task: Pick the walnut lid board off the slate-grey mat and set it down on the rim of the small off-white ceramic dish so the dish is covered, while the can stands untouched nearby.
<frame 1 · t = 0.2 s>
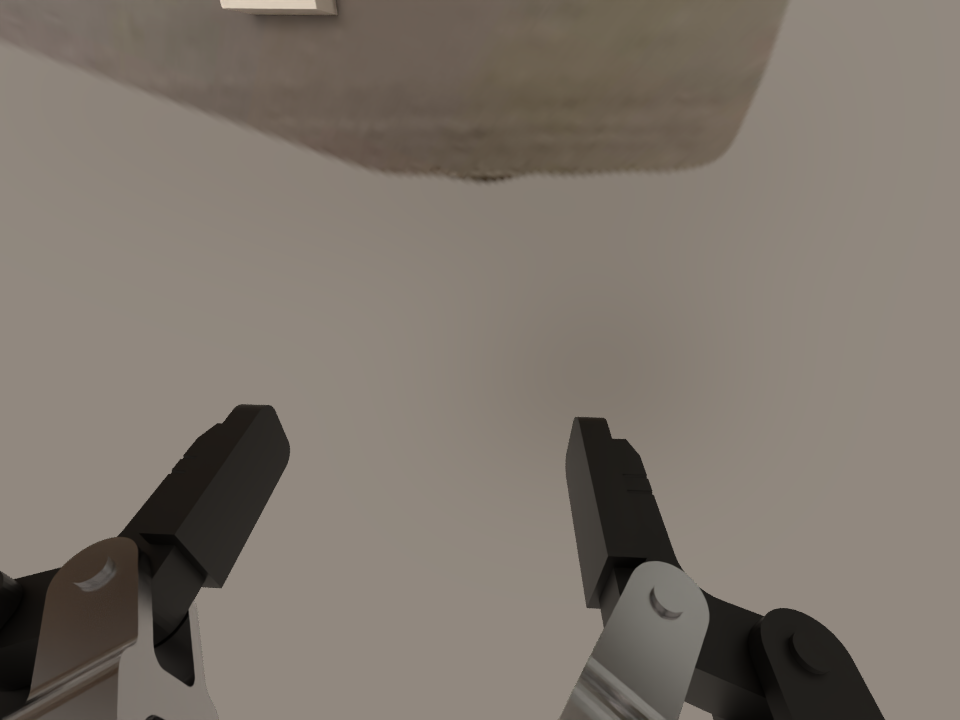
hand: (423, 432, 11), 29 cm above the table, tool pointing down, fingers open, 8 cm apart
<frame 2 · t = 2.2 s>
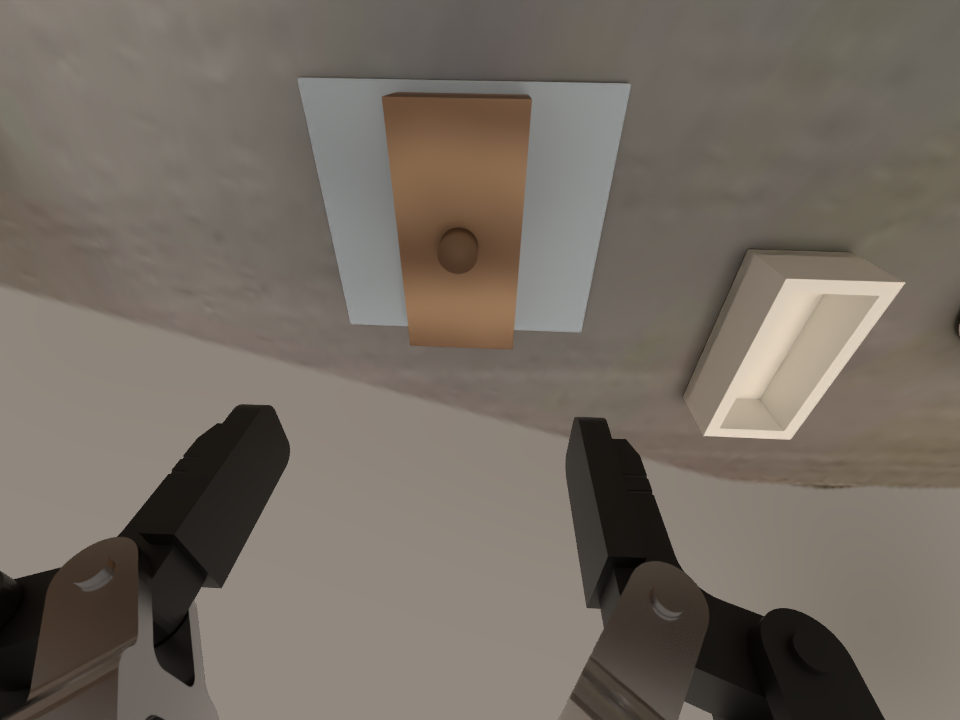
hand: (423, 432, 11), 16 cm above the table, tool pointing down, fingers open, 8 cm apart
lid: (463, 227, 23), resting on mat
mat: (464, 224, 23), on the table
dish: (755, 334, 27), on the table
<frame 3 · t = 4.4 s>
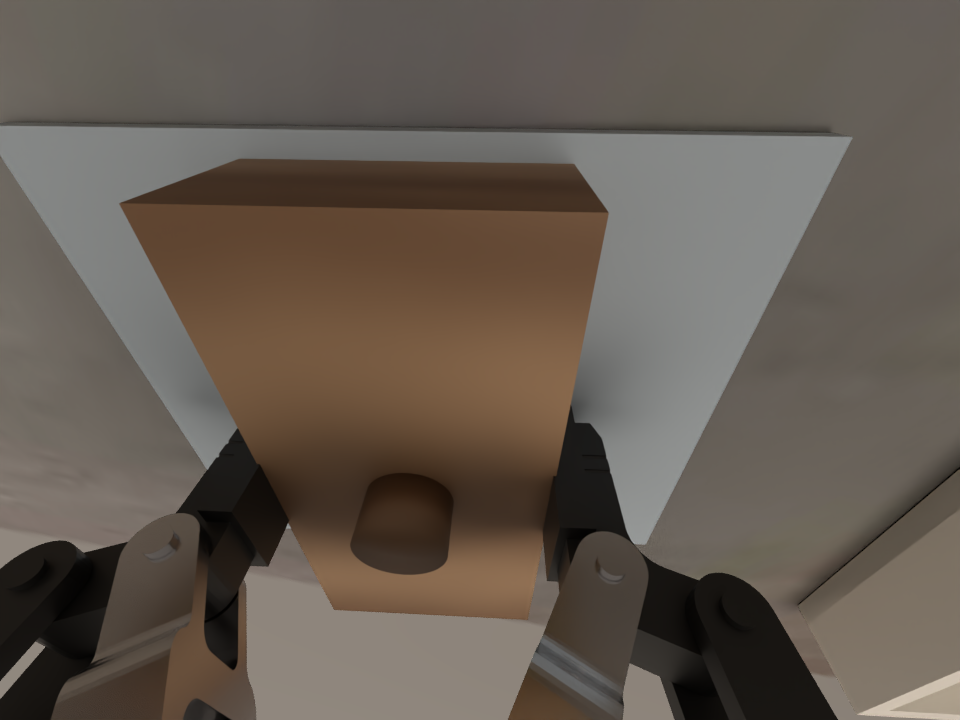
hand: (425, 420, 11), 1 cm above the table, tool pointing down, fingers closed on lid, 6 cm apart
lid: (429, 408, 11), resting on mat, touching gripper
mat: (431, 396, 12), on the table
dish: (951, 545, 15), on the table
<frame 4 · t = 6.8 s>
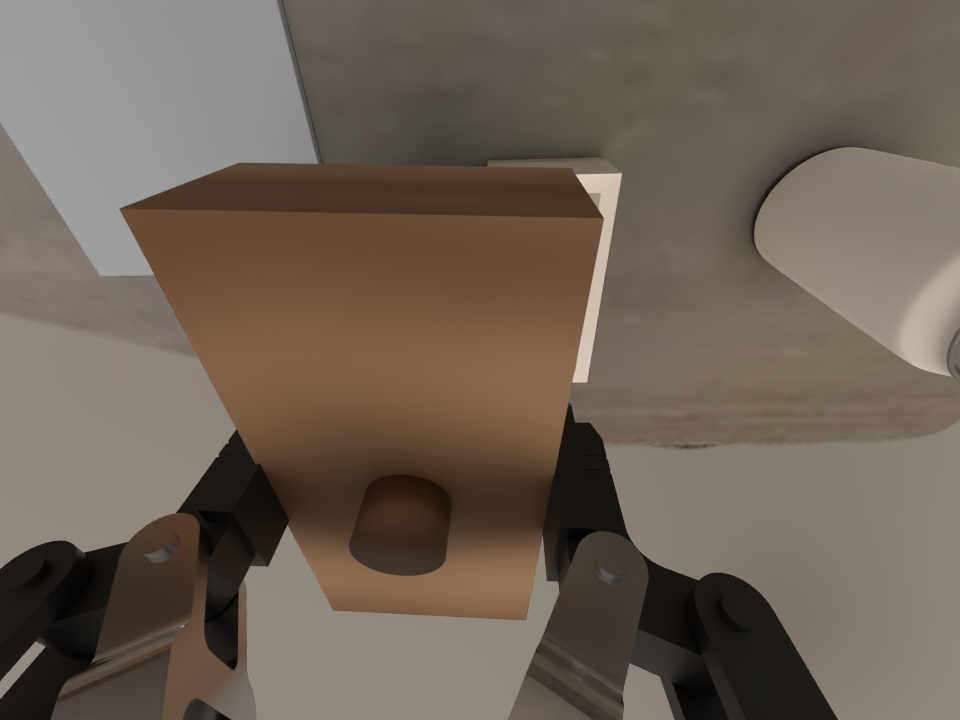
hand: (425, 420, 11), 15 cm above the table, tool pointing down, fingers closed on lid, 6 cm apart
lid: (427, 409, 11), point 15 cm above the table, touching gripper
mat: (170, 148, 21), on the table
can: (811, 209, 22), on the table
dish: (538, 266, 24), on the table
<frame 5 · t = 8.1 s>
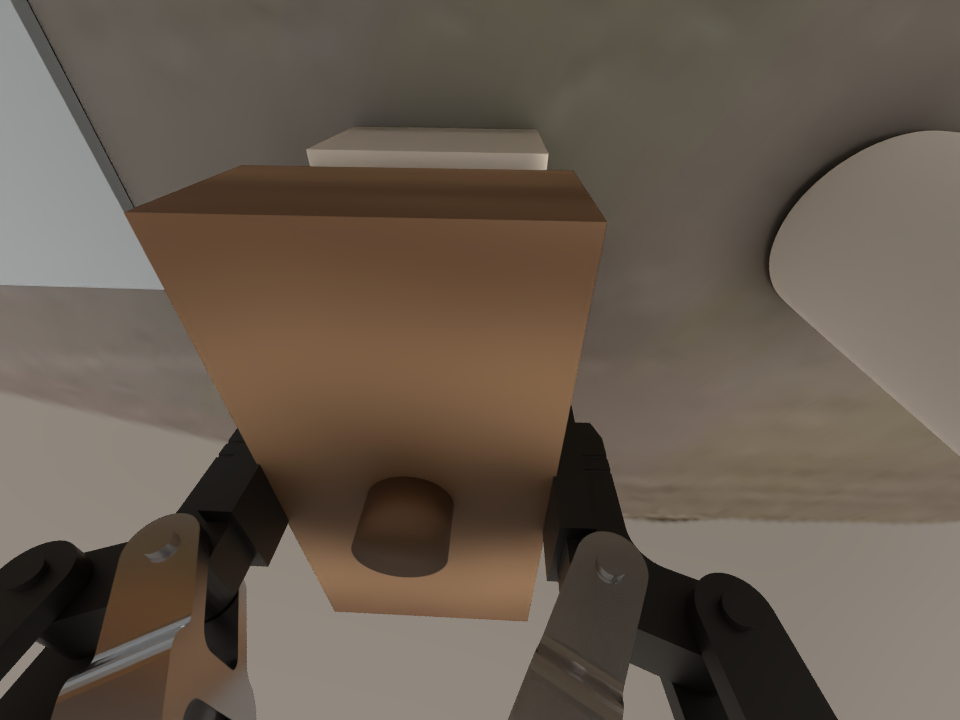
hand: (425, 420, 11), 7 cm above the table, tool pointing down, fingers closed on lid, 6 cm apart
lid: (429, 411, 11), point 7 cm above the table, touching gripper
can: (857, 228, 14), on the table
dish: (451, 292, 17), on the table
when the fingers open (6 cm above the table, at t = 9.2 s): lid drops 1 cm, resting on dish.
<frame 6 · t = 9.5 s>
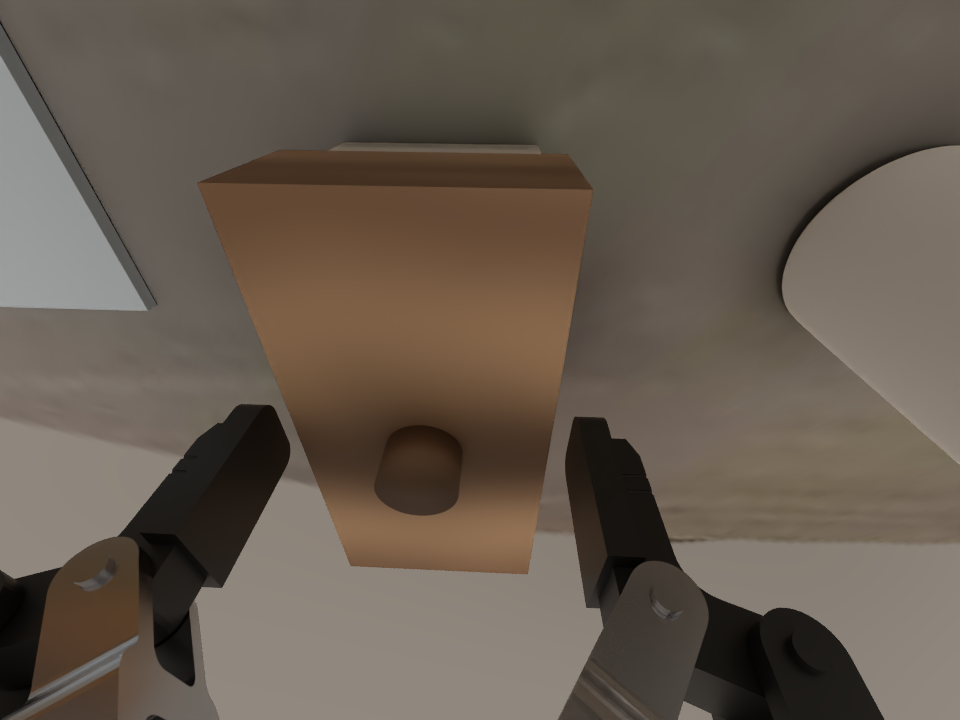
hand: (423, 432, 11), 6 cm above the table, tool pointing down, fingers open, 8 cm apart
lid: (438, 378, 13), point 4 cm above the table, touching dish
can: (875, 245, 14), on the table
dish: (448, 312, 16), on the table
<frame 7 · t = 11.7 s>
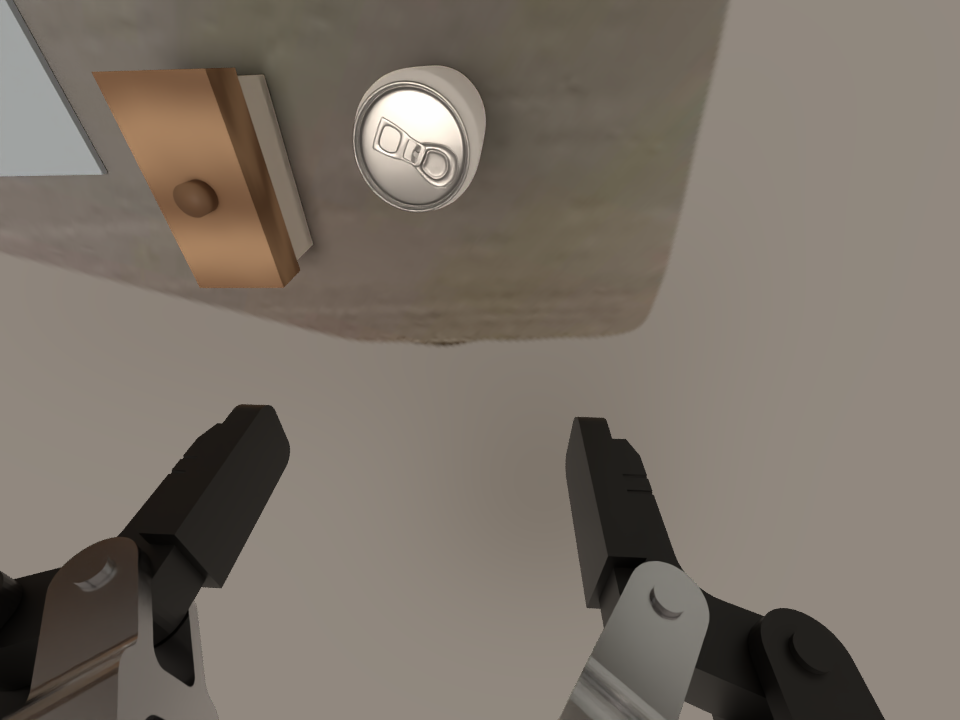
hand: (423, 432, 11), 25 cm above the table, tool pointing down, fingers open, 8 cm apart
lid: (227, 184, 28), point 4 cm above the table, touching dish
can: (441, 120, 28), on the table
dish: (254, 170, 31), on the table
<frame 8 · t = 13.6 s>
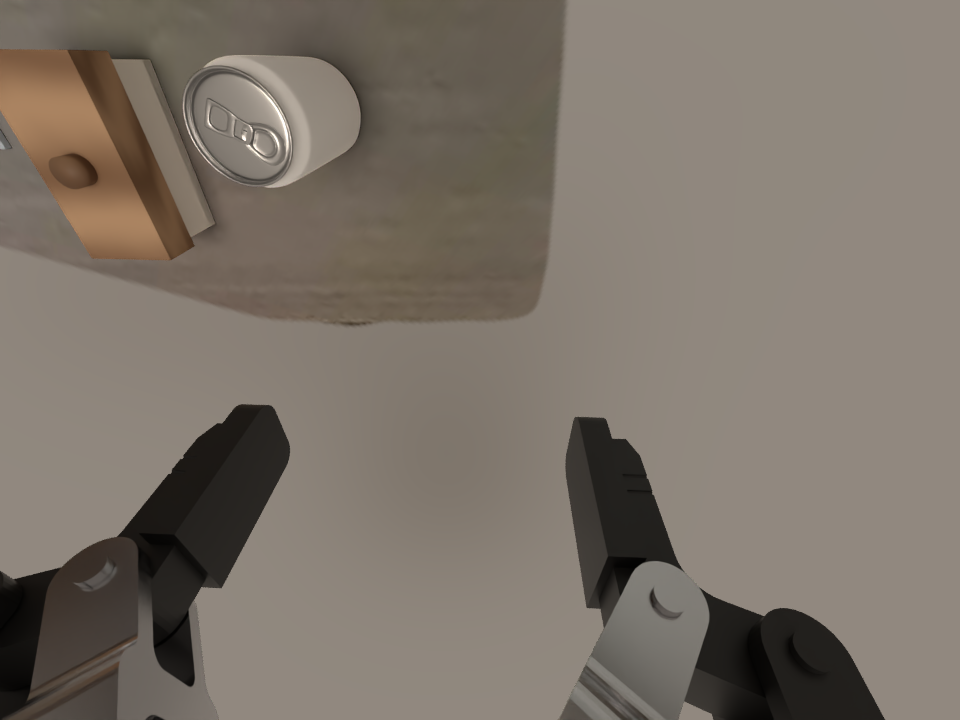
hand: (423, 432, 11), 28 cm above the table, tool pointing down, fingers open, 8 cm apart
lid: (115, 160, 29), point 4 cm above the table, touching dish
can: (321, 109, 31), on the table
dish: (151, 150, 33), on the table
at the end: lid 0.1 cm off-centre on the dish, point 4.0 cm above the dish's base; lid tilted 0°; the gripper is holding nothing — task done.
